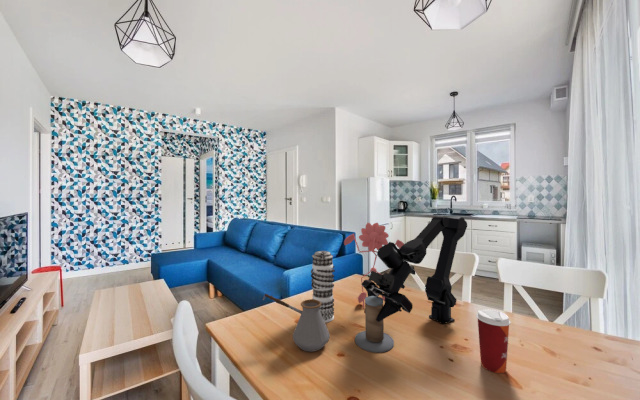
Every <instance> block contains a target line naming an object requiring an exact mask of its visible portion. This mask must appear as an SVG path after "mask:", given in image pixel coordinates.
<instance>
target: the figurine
mask: <svg viewBox="0 0 640 400" xmlns="http://www.w3.org/2000/svg"><path fill="white" fill-rule="evenodd" d="M360 230H361V235H359V236H358V239H359V240H360V241H361V242H362V243H361V246H362V247H363V248H367V249H368V250H360V248H359V245H358V242H357V239H356V236H355V233H352V234H349V235H348V236H347V237H345V239H344V241H343V244H344V246H346V245H349V244H351V243H352V242H353V241H354V242H355V245H356V248H357V252H359V253H368V252H372V253H373V254H374V256H375V257H374V261H373V265H372V267H371V268H370V270H369V271H368V272H367V273H365V275H363V276H362V277H360V283H361V284H362V283H363V278H364V277H366V276H367V275H370V274H371V271H374V272H376V273H379V274H381V272H378V271H377V268H376V267H375V264H376V262H377V261H376V260H377V258H378V256H377V252H378V250H379V248H381V247H382V246H384V245H387V244H388V243H389V241H388V239H387V238H389V233H387V232H386V226H385V225H379V223H378V222H375V223H373V224H371V223H370V222H367V223H366V224H365V227H364V228H361V229H360ZM394 244H395V245H396V247H397V248H398V249H399V248H401V246H403V245H404V244H405V243H404V241H402V240H400V239H397V240H396V241H395V242H394ZM361 291H362V292H361V293H360V294H359V295H358V296H357V301H358V303H359V304H360V303H362V309H365V298H366V297H368V294H367V291H364V287H363V286H362V285H361ZM381 298H382V299H383V302H385V297H383V296H381Z"/></svg>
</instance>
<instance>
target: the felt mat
mask: <svg viewBox="0 0 640 400" xmlns="http://www.w3.org/2000/svg"><path fill="white" fill-rule="evenodd" d="M354 342H355V344H356V346H357V347H359V348H360V349H362V350H364V351H367V352H369V353H376V354H377V353H381V354H382V353H386V352H389V351H390V350H392V349H393V348H394V347H395V346H394V345H395V341H394V339H393V337H392V336H390V335H389V334H388V333H386V332H384V339H383V340H382V341H380V342H372V341H369V340H367V339H366V333H365V330H363V331H362V330H361V331H360V332H358V333H357V334H356V335H355V337H354Z"/></svg>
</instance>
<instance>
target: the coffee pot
mask: <svg viewBox="0 0 640 400" xmlns="http://www.w3.org/2000/svg"><path fill="white" fill-rule="evenodd" d="M266 298H269V300H270V301H274V302H275V303H276V304H279V305H281V306H284V307H285V308H288V309H290V310H292V311H295V312H296V313H298V314H300V316H299V319H298V321H297V324H296V326H295V328H294V330H293V333H292V339H293V342H294V344H295V345H296V346H297V347H299V348H300V349H301V350H302V351H304V352H311V353H312V352H317V351H319V350H321V349H323V348H324V347H325V345H327V343H328V341H329V339H330V331H329V329H328V326H327V323H325V322H324V320H323V317H322V315H321V313H320V310H319V308H320V306H321V302H320V301H318V300H315V299H310V298H309V299H305V300H303V301H301V302H300V307H302V310H301V309H299V308H297V307H295V306H292V305H290V304H289V303H286V302H285V301H284V300H282V299H280V298H277V297H274V296H273V295H269V294H267V293H265V294H264V295H263V298H262V301H264V300H265V299H266Z"/></svg>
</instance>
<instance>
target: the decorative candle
mask: <svg viewBox="0 0 640 400" xmlns="http://www.w3.org/2000/svg"><path fill="white" fill-rule="evenodd" d="M311 257H312V264H311V266H312V267H311V270H310V273H311V274H310V277H311V285H310V286H311V288H312V299H315V300H318V301H320V302H321V306H320V308H319V310H320V313H321V315H322V317H323V320H324V322H325V324H327V323H330V322H332V321H333V320H335V312H334V311H335V308H334V306H335V299H334V293H333V291H334V287H335V284H334V282H335V279H334V278H335V274H333V273H334V272H335V270H336V269H335V266H334V263H333V257H334V255H333V254H332V253H331V252H330V251H327V250H319V251H315V252H314V254H312V255H311Z"/></svg>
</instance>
